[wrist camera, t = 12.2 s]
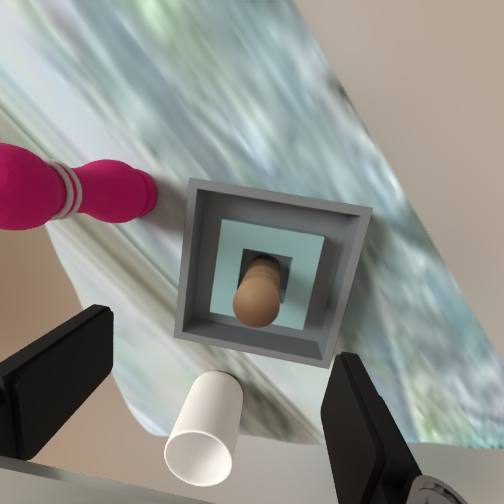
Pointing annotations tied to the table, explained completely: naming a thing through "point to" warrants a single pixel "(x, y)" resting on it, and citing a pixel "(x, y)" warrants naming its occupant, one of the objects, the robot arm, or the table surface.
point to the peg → (259, 293)
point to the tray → (288, 256)
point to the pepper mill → (69, 190)
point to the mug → (206, 431)
